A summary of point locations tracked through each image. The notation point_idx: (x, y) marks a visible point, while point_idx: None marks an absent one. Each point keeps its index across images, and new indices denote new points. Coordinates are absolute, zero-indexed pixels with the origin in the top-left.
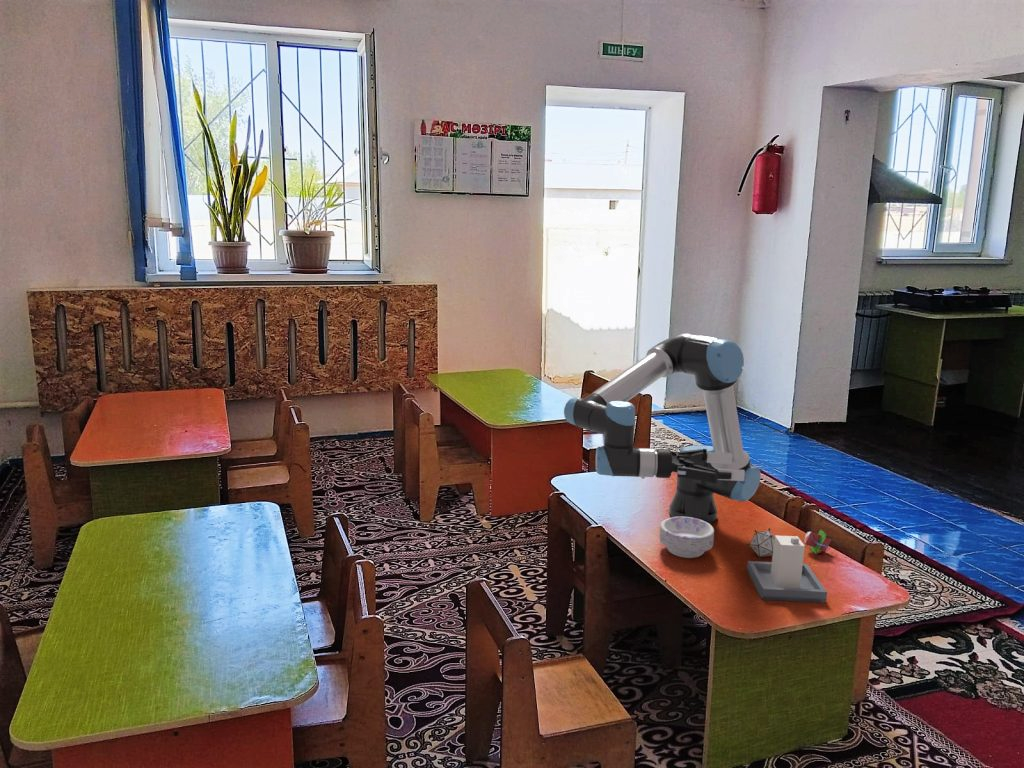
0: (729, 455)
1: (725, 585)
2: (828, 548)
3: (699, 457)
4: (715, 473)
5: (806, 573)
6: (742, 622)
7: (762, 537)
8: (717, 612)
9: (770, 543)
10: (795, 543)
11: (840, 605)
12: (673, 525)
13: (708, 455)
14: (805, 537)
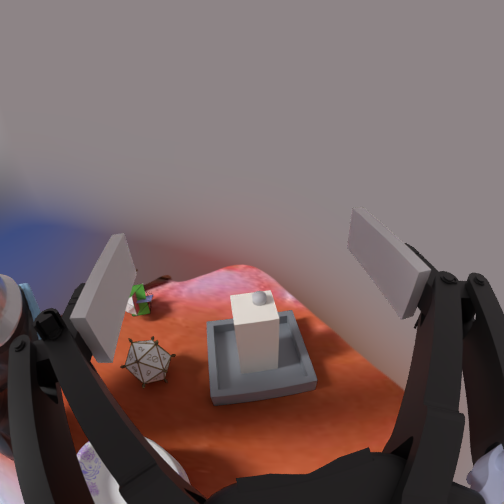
0: (123, 246)
1: (282, 441)
2: (152, 295)
3: (103, 387)
4: (484, 277)
5: (227, 327)
6: (397, 406)
7: (151, 357)
8: (385, 441)
9: (162, 351)
10: (266, 299)
11: (291, 309)
12: (94, 499)
13: (94, 326)
14: (131, 308)
